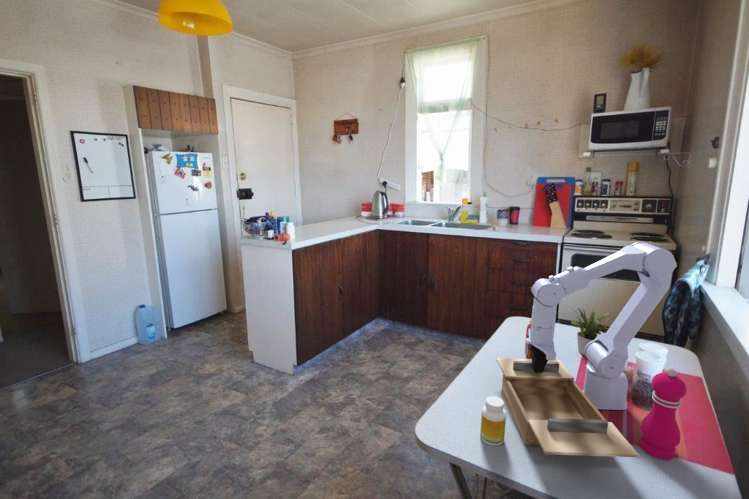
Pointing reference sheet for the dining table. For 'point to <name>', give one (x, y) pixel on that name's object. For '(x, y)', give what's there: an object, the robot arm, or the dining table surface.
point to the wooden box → (545, 403)
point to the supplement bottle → (493, 421)
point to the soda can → (526, 343)
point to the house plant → (588, 329)
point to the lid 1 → (525, 370)
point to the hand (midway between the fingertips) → (537, 371)
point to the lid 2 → (581, 438)
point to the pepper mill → (663, 416)
